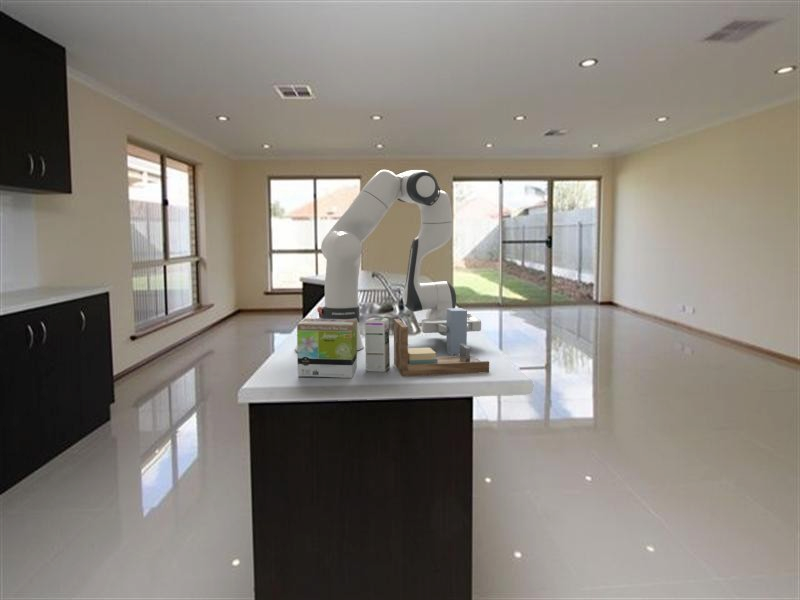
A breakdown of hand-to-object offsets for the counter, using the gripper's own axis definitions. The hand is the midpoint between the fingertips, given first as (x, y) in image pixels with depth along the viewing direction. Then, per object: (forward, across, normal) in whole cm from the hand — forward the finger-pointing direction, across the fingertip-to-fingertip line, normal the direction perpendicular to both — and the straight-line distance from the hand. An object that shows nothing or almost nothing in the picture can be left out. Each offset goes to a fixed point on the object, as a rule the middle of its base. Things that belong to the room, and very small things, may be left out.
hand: (456, 329), depth 172 cm
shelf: (+19, -10, +8) cm, 23 cm away
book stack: (+19, -16, +6) cm, 26 cm away
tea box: (+19, -42, +8) cm, 47 cm away
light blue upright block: (0, 0, +8) cm, 8 cm away
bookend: (+20, -1, +6) cm, 21 cm away
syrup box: (+17, -28, +8) cm, 33 cm away
